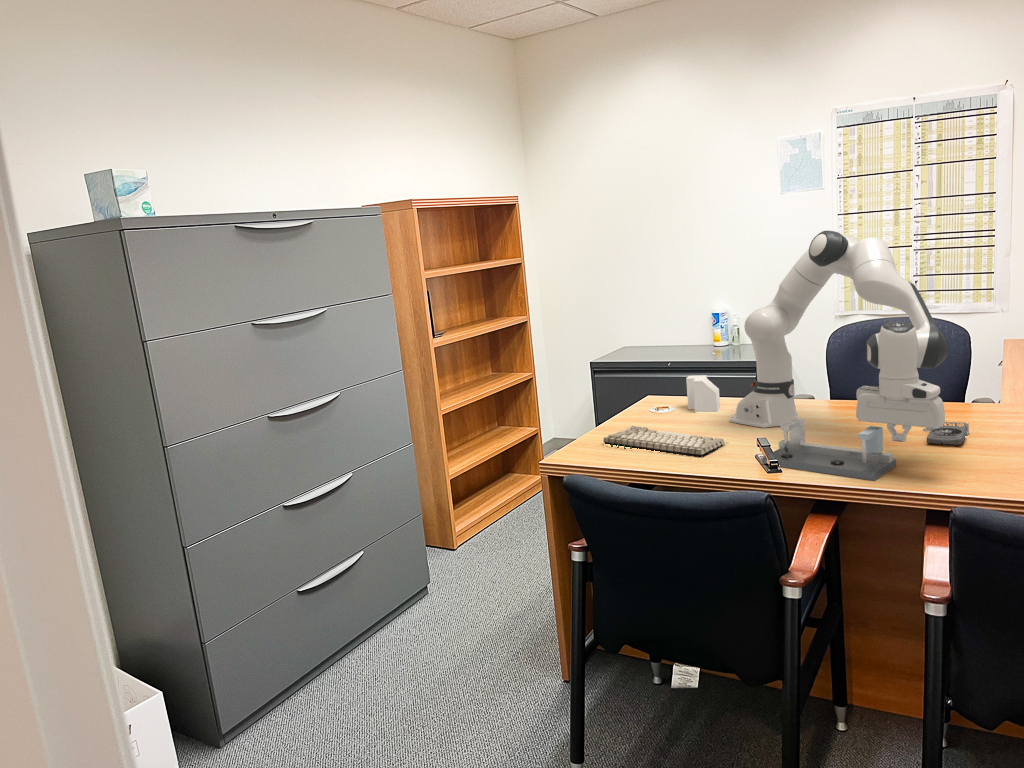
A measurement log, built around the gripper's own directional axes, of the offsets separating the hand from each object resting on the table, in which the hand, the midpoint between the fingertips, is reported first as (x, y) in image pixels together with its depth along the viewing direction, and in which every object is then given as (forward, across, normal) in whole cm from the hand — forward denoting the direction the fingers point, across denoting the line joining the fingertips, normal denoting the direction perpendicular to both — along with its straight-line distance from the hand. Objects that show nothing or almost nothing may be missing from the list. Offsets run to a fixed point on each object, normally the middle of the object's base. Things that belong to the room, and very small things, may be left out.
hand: (899, 441), depth 189 cm
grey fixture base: (+8, -17, -3) cm, 19 cm away
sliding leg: (+5, -6, -2) cm, 8 cm away
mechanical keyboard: (+9, -69, -5) cm, 70 cm away
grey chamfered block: (+9, -83, +40) cm, 93 cm away
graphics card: (+9, 0, +34) cm, 35 cm away
